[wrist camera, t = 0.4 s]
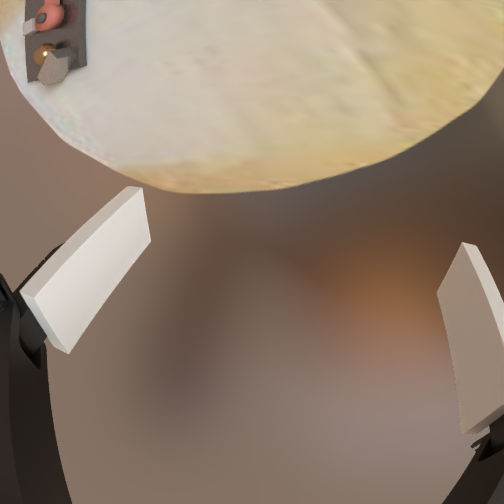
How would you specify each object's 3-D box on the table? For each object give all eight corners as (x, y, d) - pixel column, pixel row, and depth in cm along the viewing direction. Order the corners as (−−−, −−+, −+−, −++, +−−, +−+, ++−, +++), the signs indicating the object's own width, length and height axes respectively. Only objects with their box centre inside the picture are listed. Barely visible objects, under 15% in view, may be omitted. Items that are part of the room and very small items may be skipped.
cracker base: (35, -32, 21) (11, -31, 17) (91, -63, 19) (66, -68, 15) (35, 88, 37) (12, 96, 32) (87, 74, 34) (61, 81, 30)
